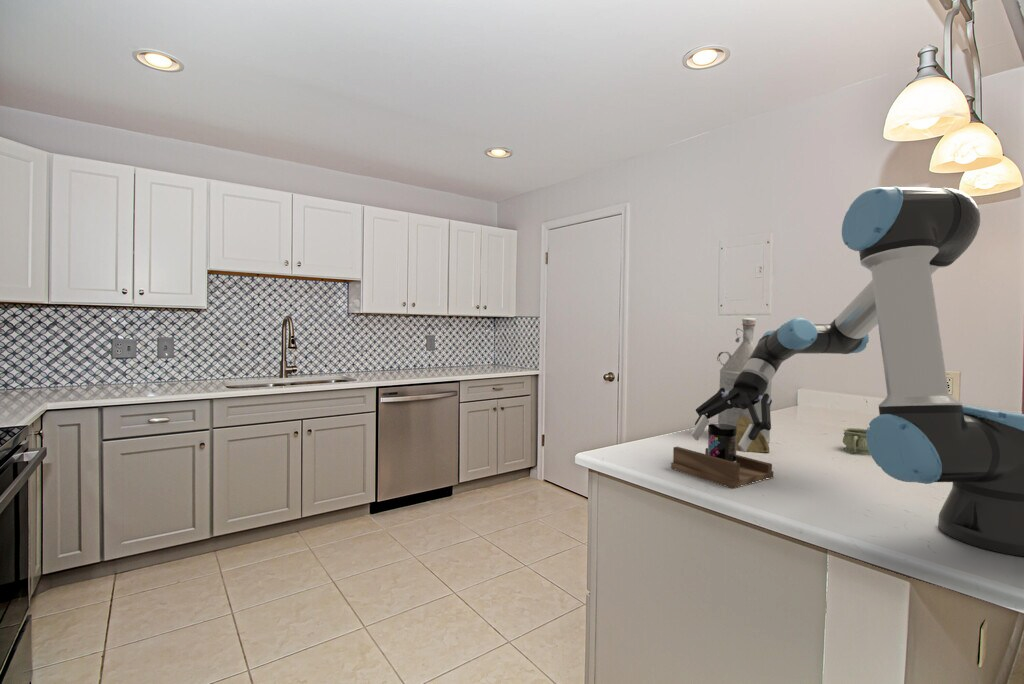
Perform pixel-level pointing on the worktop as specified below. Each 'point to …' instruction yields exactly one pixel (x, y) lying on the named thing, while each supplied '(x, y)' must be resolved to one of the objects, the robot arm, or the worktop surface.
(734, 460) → the supplement container
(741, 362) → the grey jug
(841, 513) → the worktop surface
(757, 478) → the walnut rack
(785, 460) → the worktop surface
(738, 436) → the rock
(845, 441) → the vessel
